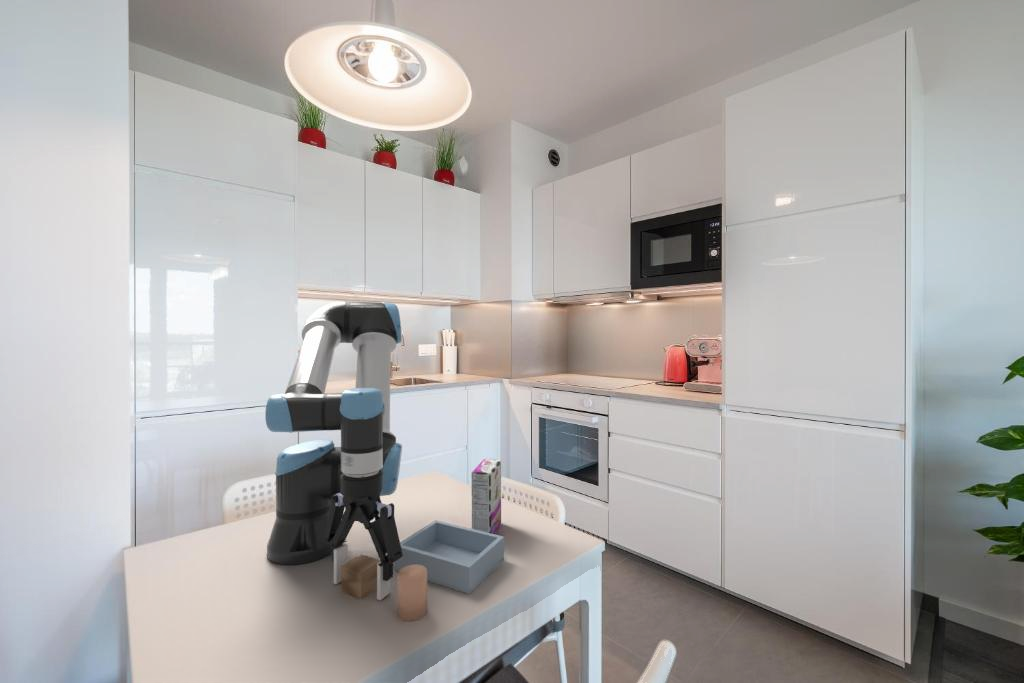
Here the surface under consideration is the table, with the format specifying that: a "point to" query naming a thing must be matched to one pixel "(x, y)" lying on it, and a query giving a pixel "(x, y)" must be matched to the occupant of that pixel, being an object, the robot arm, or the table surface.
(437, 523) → the tote
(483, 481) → the candy bar box
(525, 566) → the table surface
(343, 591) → the walnut cube
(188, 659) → the table surface
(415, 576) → the peach rounded cylinder
